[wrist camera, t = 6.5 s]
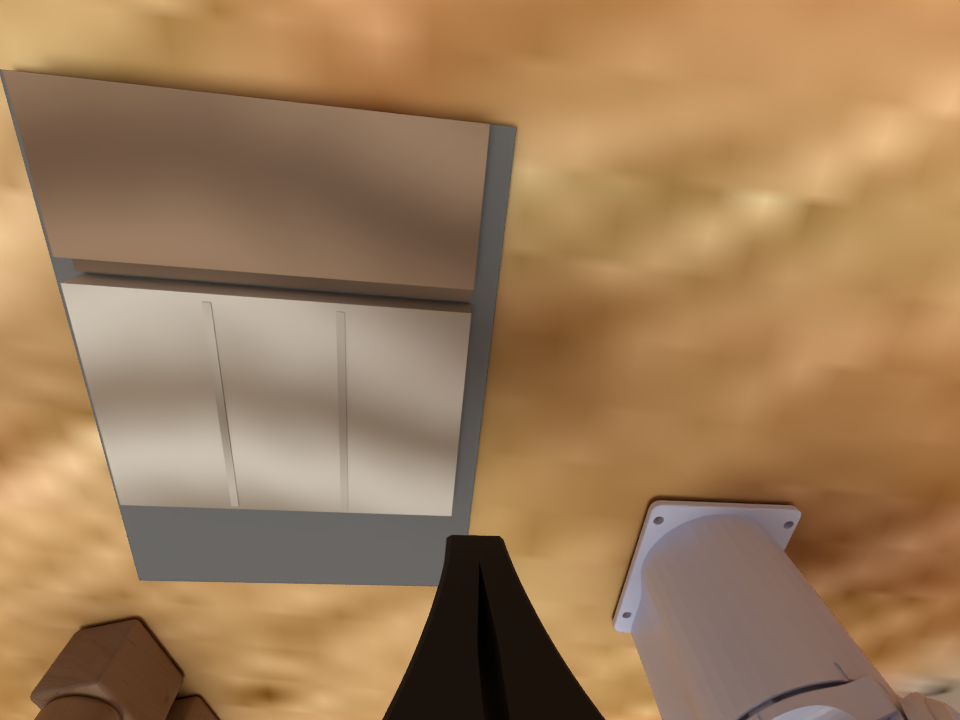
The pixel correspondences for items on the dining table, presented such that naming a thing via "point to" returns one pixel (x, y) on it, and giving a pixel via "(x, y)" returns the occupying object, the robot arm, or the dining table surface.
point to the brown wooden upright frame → (114, 679)
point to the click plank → (273, 394)
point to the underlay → (327, 535)
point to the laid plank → (252, 188)
